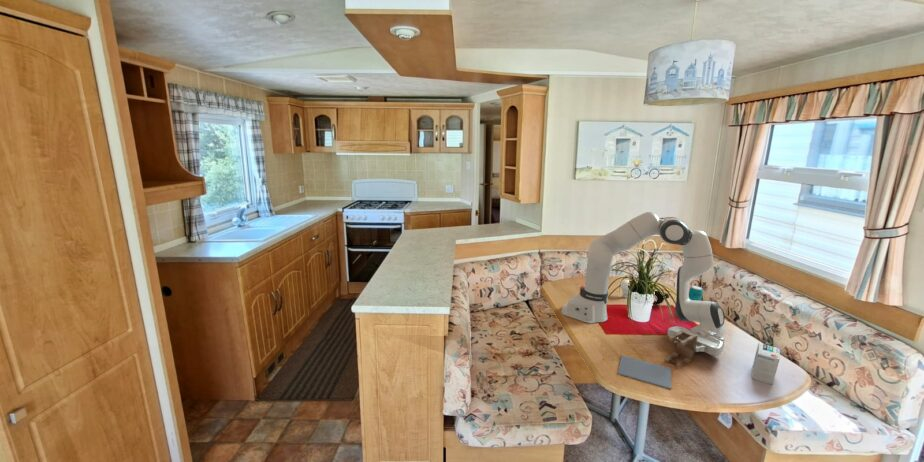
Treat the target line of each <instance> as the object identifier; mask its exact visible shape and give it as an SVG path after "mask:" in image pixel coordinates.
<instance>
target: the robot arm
mask: <svg viewBox="0 0 924 462" xmlns="http://www.w3.org/2000/svg"><path fill="white" fill-rule="evenodd" d="M652 236H659V237H660V238H661V239H662V240H663V241H664V242H665V243H666V244H667V243H668V244H670V245H677V246H678V245H679V246H680V247H681V249H682V255H683V256H682V257H683V263H682V265H681V266H679V268H678V269H677V273H676V274H677V275H676V300H675V305H674V312H675V315H676V317H678V319H680V321H682V322H689V323H690V322H695V323H699V324H698V325H695V326H694V327H691V329H689V328H685V327H683V326H680V325H675V326H672V327H669V328H668V330H667V336H668V338H669V337H670V336H672V335H674V334H675V333H677V332H679V331H680V330H682V329H683V330H685V331H688V332H690V333H693V334H695V335H698V337H697V342H696V346H695V347H694V349H693V351H695V353H698V352H703V353H707V354H709V355H711V356H713V357H717V358H718V357H720V355H722V352H723V349H724V346H725V337H723V336H724V335H725V333H726V329H727V328H726V325H725V312H724V309H723V308H722V307H721V305H720V304H719V303H718V302H715V301H709V300H708V301H707V300H701V301H696V300H691V299H689V291H690V281H691V279H693V278H696V277H699V276H702V275H705V274H707V273H708V272H709V271H711V270H712V269H713V266H714V255H713V250H712V245H711V242H710V239H709V236H708V235H707V233H706V232H705V231H703V230H699V229H693V230H691V229H690V228H689V227H688V226H687V225H686V224H685V221H683V220H682V219H680V218H677V217H674V216H666V217H659V216H658V215H657V214H656V213H654V212H652V211H646V212H644V213H641V214H639V215H637V216H635V217H633V218H631V219H630V220H629V221H627V222H625V223H623V224H622V225H620V226H619V227H617V228H616V229H615V230H612V231H611V232H608V233H605V235H602V236H600V237H598V238H596V239H594V240H593V241H592V242H590V244H589V246H588V252H587V260H586V261H587V262H586V271H585V276H584V277H585V278H584V279H585V280H584V285H583V284H582V285H581V286H580V287H579V293H578V294H575V295H574V296H571V297H570V298H569V300H568V301H567V303H566V304H564V305H563V306H562V308H561V311H560V312H561V314H562V315H563V316H566V317H568V318H571V319H575V320H578V321H580V322H584V323H587V324H594V323H595V324H596V323H604V322H606V321H607V320H608V312H607V303H608V300H609V299H608V298H609V291H608V290H609V284H610V283H609V282H610V275H611V270H612V265H613V259H614V256H615V255H617V254H619V253H622V252H625V251H628V250H630V249H632V248H634V247H635V246H637V245H638V244H640V243H642V242H644V241H645V240H647V239H648V238H650V237H652ZM674 343H675V344H677V341H675V340H674Z"/></svg>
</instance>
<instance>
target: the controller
mask: <svg viewBox="0 0 924 462" xmlns="http://www.w3.org/2000/svg"><path fill="white" fill-rule="evenodd" d="M664 293H665V296H666V299H669V298H670V295H669V293H667V292H664ZM654 297H656V300H655V301H654V304H653V305H660V304H662V303H664V300H666V299H664V298H663V296H662V295H661V294H660V292H659V291H655V295H654Z"/></svg>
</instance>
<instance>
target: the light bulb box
mask: <svg viewBox="0 0 924 462" xmlns="http://www.w3.org/2000/svg"><path fill="white" fill-rule="evenodd" d="M780 353H781V349H780V348H779V347H776V346H772V345H768V344H765V343H762V342H758V344H757V347H756V351H755V356H754V359H753V363H752V369H751V379H755V380H757V381H761V382H763V383H766V384H769V385H772V386H773V384H774V381H775V377H776V374H777V370H778V366H779V363H780V360H781V357H780V356H781V354H780Z"/></svg>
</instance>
